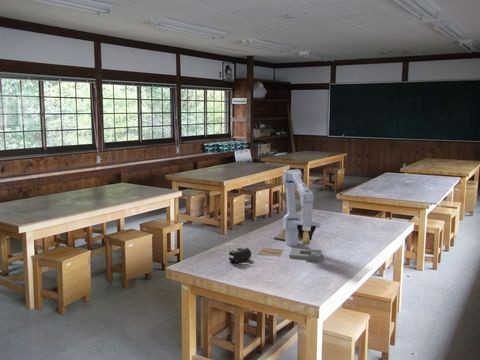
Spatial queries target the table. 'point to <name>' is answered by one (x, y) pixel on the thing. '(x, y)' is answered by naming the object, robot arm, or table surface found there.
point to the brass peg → (306, 237)
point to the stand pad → (270, 252)
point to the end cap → (239, 255)
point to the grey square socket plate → (306, 254)
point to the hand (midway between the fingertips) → (306, 239)
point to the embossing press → (283, 234)
